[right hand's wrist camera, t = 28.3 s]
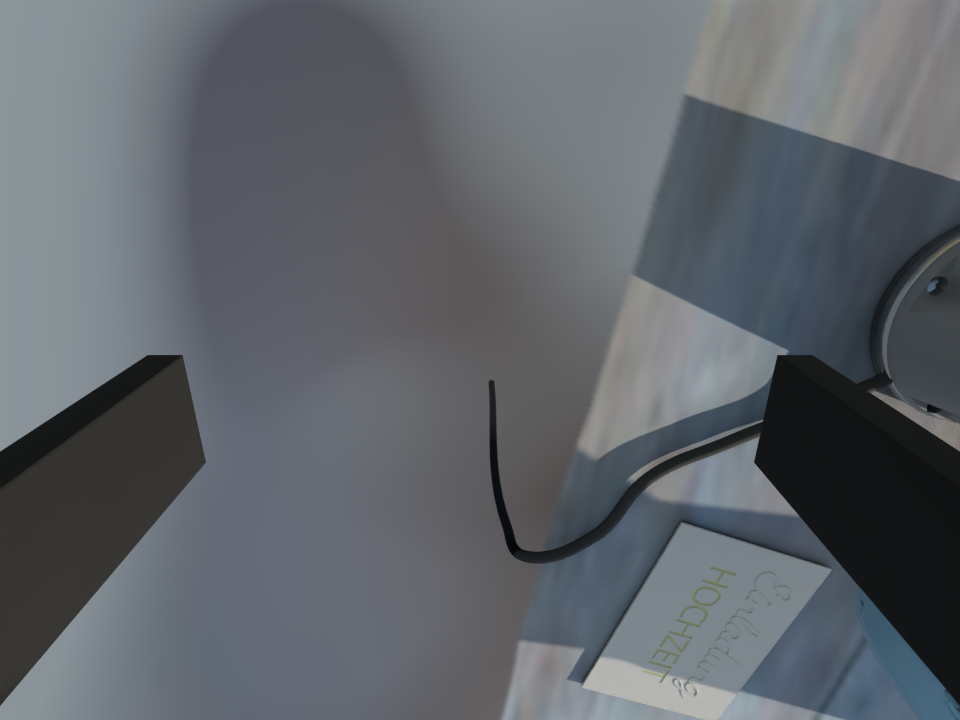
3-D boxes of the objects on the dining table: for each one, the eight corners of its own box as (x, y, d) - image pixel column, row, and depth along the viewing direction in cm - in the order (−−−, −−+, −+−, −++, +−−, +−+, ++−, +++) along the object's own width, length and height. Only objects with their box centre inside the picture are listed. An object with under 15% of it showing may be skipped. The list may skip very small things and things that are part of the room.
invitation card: (682, 523, 47) (832, 570, 49) (681, 521, 47) (830, 568, 49) (581, 688, 55) (715, 723, 57) (581, 685, 55) (714, 720, 57)
